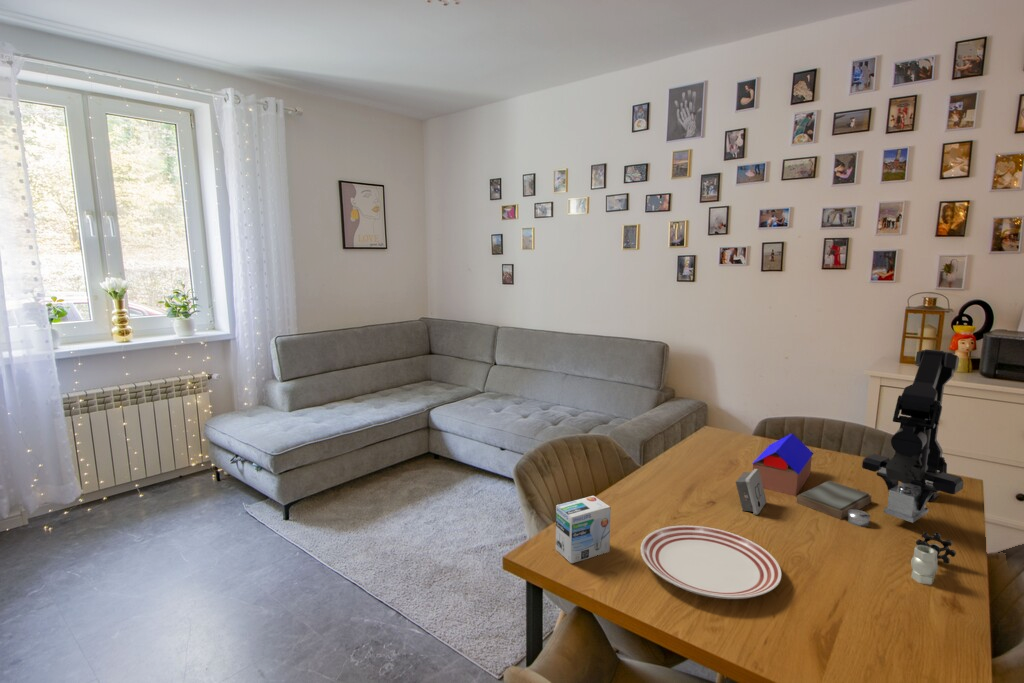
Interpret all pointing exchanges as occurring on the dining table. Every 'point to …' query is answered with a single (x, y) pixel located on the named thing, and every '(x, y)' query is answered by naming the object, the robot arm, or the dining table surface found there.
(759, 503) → the electrical switch
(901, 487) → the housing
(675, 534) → the dinner plate
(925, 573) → the valve
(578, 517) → the white box
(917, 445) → the robot arm
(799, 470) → the house
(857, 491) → the stand
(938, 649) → the dining table surface
